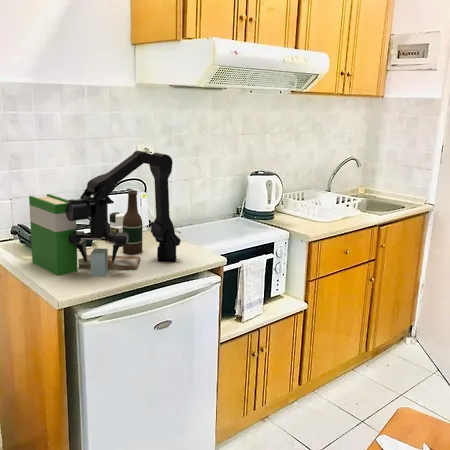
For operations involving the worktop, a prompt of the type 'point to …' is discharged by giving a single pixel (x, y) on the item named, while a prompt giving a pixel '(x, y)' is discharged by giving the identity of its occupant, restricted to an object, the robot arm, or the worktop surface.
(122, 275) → the worktop surface
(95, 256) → the product carton
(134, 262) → the shelf board
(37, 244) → the hardback book
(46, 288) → the worktop surface
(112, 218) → the medicine bottle
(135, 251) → the beer bottle
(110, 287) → the worktop surface
